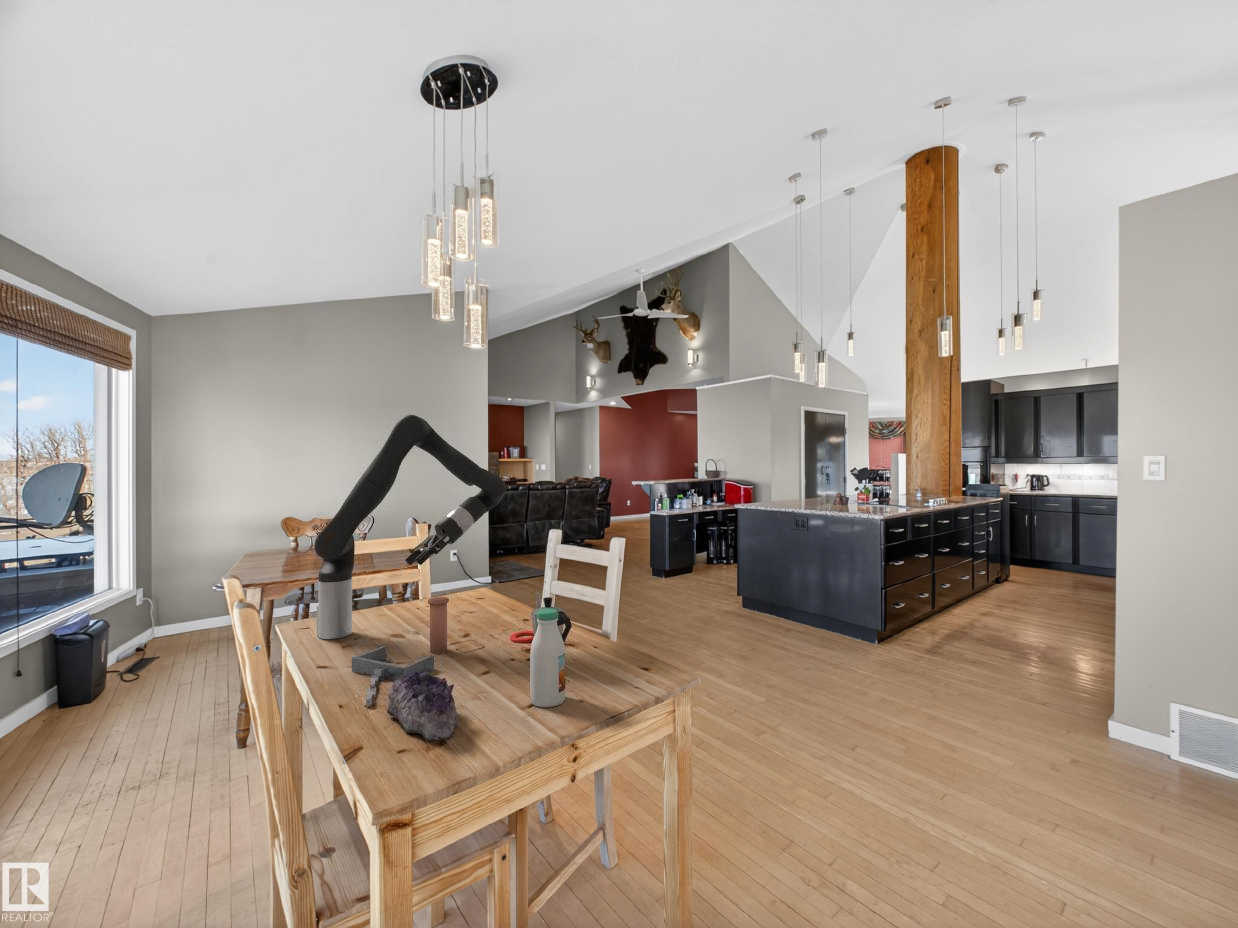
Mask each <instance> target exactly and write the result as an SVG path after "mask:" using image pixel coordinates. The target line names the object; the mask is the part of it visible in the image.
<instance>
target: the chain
mask: <svg viewBox="0 0 1238 928" xmlns="http://www.w3.org/2000/svg"><path fill="white" fill-rule="evenodd" d="M379 681H380V680H379V676H376V675H371V676H370V678H369V688H367V690H366V694H365V698H366V699H365V703H366V705H365V708H372V704H373V701H374V700H375V699H376V694H377V687H376V686H377V685H379Z"/></svg>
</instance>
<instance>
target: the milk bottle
mask: <svg viewBox="0 0 1238 928" xmlns="http://www.w3.org/2000/svg"><path fill="white" fill-rule="evenodd" d="M537 621H538V628H537V631H536V634H535V636H534V635H533V636H534V638H533V641H531V645H530V653H529V657H530V658H529V660H530V661H529V671H530V673H529V677H530V678H529V683H530V684H529V687H530V688H529V691H530V694H529V695H530V697H529V698H530V699H529V700H530V703H531V704H532V705H533V706H535V707H538V708H553V707H556V706H559V705H562V704H563V703H564V701H565V699H566V648H565V642H563V639H562V637H561V634H560V632H559V630H558V626H557V621H558V611H557V610H556V609H541V610H539V611H538V612H537Z"/></svg>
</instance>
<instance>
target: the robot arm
mask: <svg viewBox="0 0 1238 928" xmlns="http://www.w3.org/2000/svg"><path fill="white" fill-rule="evenodd" d="M413 447H417V448H419V449H421V450H423V451H424V452H426V453H428V454H430V455H431V456H432V457H433V458H435V459H436V460H437V461H438V462H439V463H440V464H441V465H442V466H443V467H444V468H445V469H446V470H447V471H449V473H451V474H452V475H453V476H454V477H456V478H457V479H458V480H460V481H461V482H462V483H464V484H465V485H466V486H469V487H472V486H476V487H478V488H479V489H480V491H479V492H478V493H477V494H475V495H474V496H470V497H468V498H467V499H465V500H463V502H462V503H460V504H459V505H458V506H457V507H456V508H454V509H453V510H451V511H450V512H449V513H447V515H445V516H444V517H443V518H442V519H440V520H439V521H438V522H437V523H436V524H435V525H434V530H435V534H434V535H429V536H427V537H426V538H425V539H423V541H421V542H420V543H419V544H418V545H417V546H415V547H414V548H413V550H414V551H413V552H412V553H410V555H408V556H407V557H406V558H405V560H404V562H405V563H406V564H407V565H409V566H411V565H413V564H414V563H415V562H416V563H417V564H418V565H419V566H422V565H423V564H424V563H425V562H427V560H429V558H431V557H433V556H435V555H438V554H439V553H440V552H442V550H443V549H444V548H445V547H447V545H454V544H455V543H456V542H457V541H458V540H459V539H460V538H461V537H462V536H463V535H464V534H466V533H467V532H468V531H469V530H470V529H471V528H472V526H473V525H474V524H475V523H476V522H477V521H479V520H480V519H481V518H482V517H483V516H484V515H485V514H487V513H488V512H489V511H491V510H492V509H494V508H495V507H496V506H497V505H498V504H500V503H501V502H502V499H503V497H504V496H505V493H506V491H507V485H506V483H505V481H504V479H502V477H500V476H499V475H497V474H495V473H493V472H492V471H490V470H488V469H485V468H483V467H481V466H480V465H479V464H477V463H475V461H473V460H472V459H470V458H469V456H467V455H465V454H464V453H462V452H461V451H459V450H458V449H456V448H455V447H453V446H452V445H451V444H450V443H449V442H447V441H446V440H445V439H444V438H443V437H441V436H440V435H439V433H438V432H437V431H435V429H434V428H433V427H432V426H431V425H430V424H429V423H428V421H427V420H426V419H424V418H422V417H420V416H418V415H415V414H406V415H404V416H402V417H400V418H399V419H398V420H397V421H396V423H395V424H394V426H393V429H392V430H391V432H390V434H389V436H388V437H387V440H386V441H385V443H384V444H383V446H382V447H381V448H380V450H379V451H378V453H377V454H376V456H375V457H374V458H373V460H372V461H371V462H370V463H369V465H368V467H367V468H366V469H365V471H364V472H363V473H362V474H361V476H360V478H359V479H358V480H357V482H356V483H355V485H354V486H353V488H352V489H351V491H350V492H349V494H348V496H347V497H346V499H344V502H343V503H342V505H341V507H340V508H339V510H338V511H337V512H336V514H335V515H334V516H333V518H331V520H330V521H329V522H328V523H327V524H326V526H325V527H324V528H323V529H322V530H321V531H320V532H319V533H318V535H317V536H316V538H315V540H314V546H313V547H314V551H315V554H316V555H317V556H318V557H319V558H320V559H322V565H321V567H320V569H319V572H318V574H317V575H318V603H317V604H316V636H317V637H318V638H319V639H322V640H335V639H341V638H345V637H348V636H350V635H351V634H352V633H353V578H352V576H353V570H354V566H355V551H356V550H355V548H356V545H355V544H356V543H355V537H354V533H355V531H356V530H357V528H358V527H359V526H360V524H361V523H362V522H363V521H364V520H366V519H367V517H369V515H371V513H372V512H374V510H376V509H377V507H379V505H380V504H382V501H384V499H385V498H386V497H387V494H388V493H389V492H390V490H392V487H393V486H394V484H395V482H396V480H397V479H396V478H397V476H398V473H399V471H400V467H401V465H402V463H403V460H404V459H405V458H406V456H407V455H408V453H410V452H411V450H412V449H413ZM421 549H422V550H421Z"/></svg>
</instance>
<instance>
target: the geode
mask: <svg viewBox="0 0 1238 928" xmlns="http://www.w3.org/2000/svg"><path fill="white" fill-rule="evenodd" d="M447 682H448V681H447V679H446V678H445V677H442V678H441V677H438V676H435V675H431V674H430V673H429V672H425V673H423V674H420V673H419V672H417V671H414V672H413V673H411V674H410V675H408V676H407V677H406V678H405V679H401V680H397V681H393V683H392V685H391V686H390V688H389V689H390V690H389V693H388V694H387V697H388V701H387V710H386V711H387V714H388V715H389V716H390V717H392V718H393V717H394V718H395V719H397V720H398V724H399V725H400V726H401V727H402V728H403V731H404V732H405V733H406V734H418V735H421V736H422V737H423V739H424V740H425V741H426V742H427V743H435V742H439V743H440V742H441V743H442V742H444V741H449V740H450V739H451V738H452V737H453V736H454V733H455V731H456V730H457V727H458V719H457V708H456V705H455V703H456V702H455V699H454V697H453V694H452V693H453V688H455V687H454V686H455V684H450V685H448V683H447Z"/></svg>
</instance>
